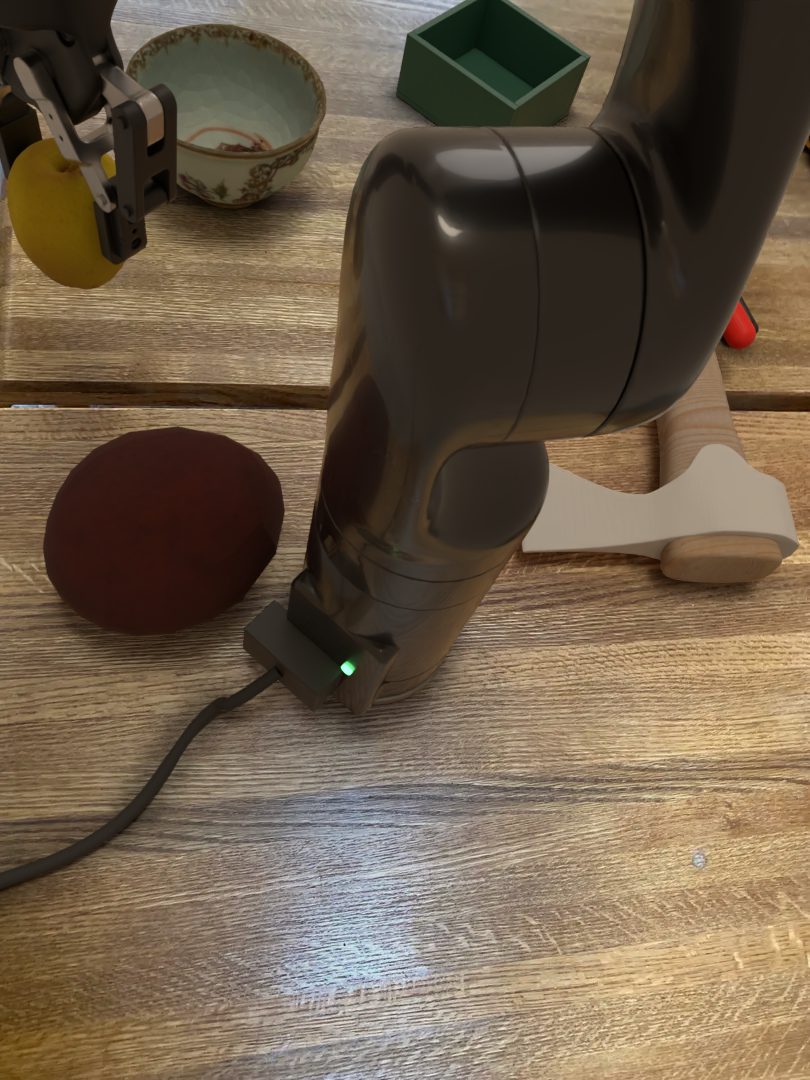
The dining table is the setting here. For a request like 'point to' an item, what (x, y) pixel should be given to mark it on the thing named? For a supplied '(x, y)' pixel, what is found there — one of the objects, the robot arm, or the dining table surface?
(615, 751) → the dining table surface
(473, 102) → the bin
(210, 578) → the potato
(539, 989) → the dining table surface
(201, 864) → the dining table surface
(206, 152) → the bowl
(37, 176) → the apple
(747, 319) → the toy gun
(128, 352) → the dining table surface
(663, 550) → the axe
